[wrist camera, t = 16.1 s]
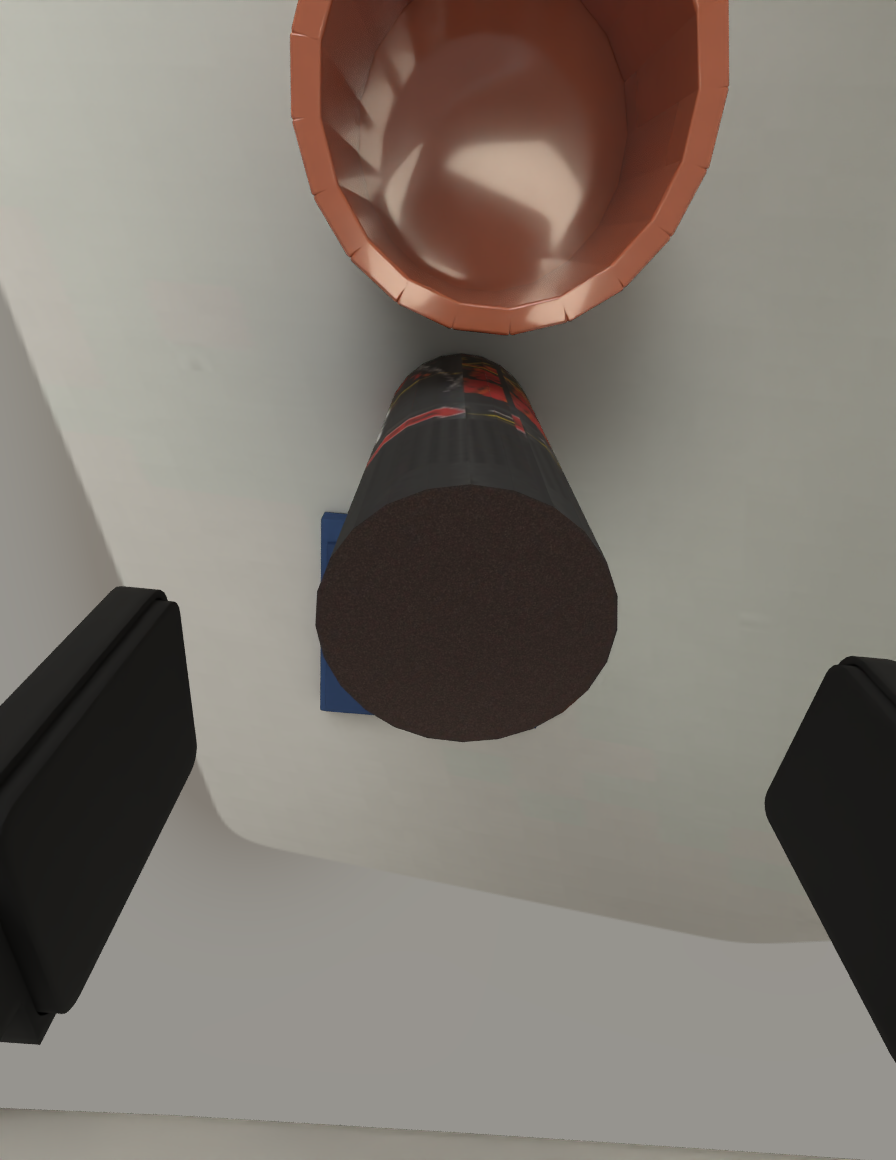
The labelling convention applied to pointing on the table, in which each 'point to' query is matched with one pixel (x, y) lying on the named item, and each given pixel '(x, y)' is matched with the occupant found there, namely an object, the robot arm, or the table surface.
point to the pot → (506, 144)
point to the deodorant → (465, 566)
